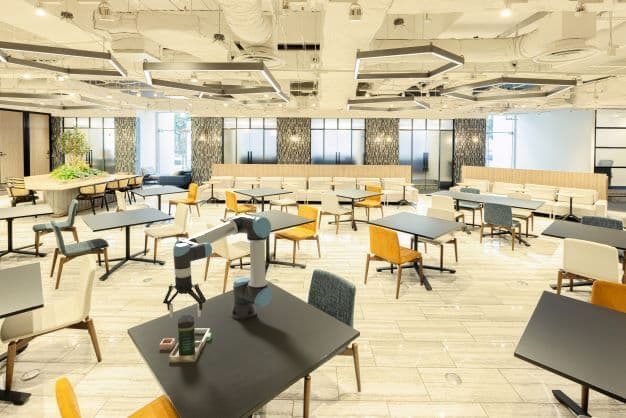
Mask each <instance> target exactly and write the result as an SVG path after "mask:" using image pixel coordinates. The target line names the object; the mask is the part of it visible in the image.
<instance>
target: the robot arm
mask: <svg viewBox="0 0 626 418" xmlns="http://www.w3.org/2000/svg"><path fill="white" fill-rule="evenodd" d="M271 232H272V223H271V221H270V220H269V219H268V217H266V216H262V215H256V214H250V213H243V214H241V215H237V216H235V217H232V218H228V219H227V220H226V222H224V223H221V224H219V225H216V226H215V227H212V228H210V229H207V230H206V231H203V232H200V233H198V234H195V235H193V236H191V237H189V238H186V239H185V238H179V239H177V240H176V241H175V242H174V246H173V248H172V249H173V253H172V254H173V264H174V265H173V266H174V280H175V281H174V283H175V284H173V283H171V284H169V286H168V290H167V293H166V295H165V297H164V299H163V302H162V303H163V304H165V305H167V311H168V312H169V317H170V318H172V317H173V316H174V307H173V306H174V304H173V302H172V301H174V299H175V298H176V297H177V295H178V294H180V295H187V294H188V295H189V296H191V298H193V299H194V301H196V303H197V308H196V309H197V317H198V318H200V317H201V316H202V310H203V304H205V303H206V301H207V299H206V297H205V295H204V294H203V292H202V290H201V289H200V286H199V283H196V284H193V283H192V282H193V281H192V264H191V263H192V262H194V261H198V260H202V259H206V258H209V257H211V256H212V254H213V246H212V245H211V244H213V243H216V242H218V241H220V240H222V239H225V238H226V237H228V236H231V235H233V236H234V235H237V234H246V237H247V238H246V240H247V241H248V242H249V261H250V263H249V264H250V277H241V278H237V279H235V280H234V281H233V286H232V289H233V304H232V308H231V311H230V313H231V314H230V315H231V317H232V318H233V319H235V320H248V319H251V318H254V317H255V316H256V313H257V311H256V308H255V306H257V307H266V306H267V305H268V304H269V303H270V301H271V300H272V296H273V291H272V289H271V288H270V287H269V282H268V281H267V280H266V254H265V253H266V244H265V242H266V241H267V239H268V236H270V233H271ZM174 289H175V290H176V291H175V293H173V295H172V296H171V293H172V291H173V290H174ZM194 290H195V291H194ZM170 296H171V298H170V299H169V297H170Z"/></svg>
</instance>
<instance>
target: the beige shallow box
mask: <svg viewBox="0 0 626 418" xmlns="http://www.w3.org/2000/svg"><path fill="white" fill-rule="evenodd" d="M203 347H204V346H203V341H202V340H195V352H194V354H193V355H190V356H180V355H179V344H178V342H177V343H175V345H174V347H173V348H172V350H171V352H170V353H169V355H168V362H169V363H196V362H197V360H198V357H199V356H200V354H201V351H202V349H203Z"/></svg>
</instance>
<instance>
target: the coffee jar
mask: <svg viewBox="0 0 626 418" xmlns="http://www.w3.org/2000/svg"><path fill="white" fill-rule="evenodd" d="M177 339H178V340H177V343H178V344H179V355H180V356H190V355H193V354H194V352H195V341H196V333H195V317H194V316H192V315H191V314H185V315H181V316H180V317H179V318H178V320H177Z"/></svg>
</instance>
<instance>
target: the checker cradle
mask: <svg viewBox="0 0 626 418" xmlns="http://www.w3.org/2000/svg"><path fill="white" fill-rule="evenodd" d="M194 328H195V327H194ZM195 334H204V335H203V338H202V339H201V341H203V347H205V345H206V342H210V341H211V339H212V332H211V328H209V327H208V328H207V327H206V328H204V327H203V328H202V327H201V328H198V327H197V328H195Z"/></svg>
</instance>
